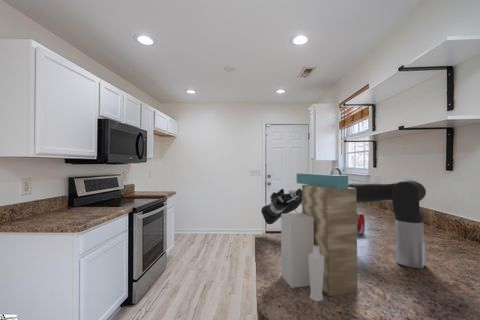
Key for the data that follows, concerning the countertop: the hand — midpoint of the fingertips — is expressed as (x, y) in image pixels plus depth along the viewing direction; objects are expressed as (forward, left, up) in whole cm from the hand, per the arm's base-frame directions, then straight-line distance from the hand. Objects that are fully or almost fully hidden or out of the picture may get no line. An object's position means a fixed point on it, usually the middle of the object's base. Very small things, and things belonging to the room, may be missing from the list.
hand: (291, 190), depth 105 cm
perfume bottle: (-25, +25, -28) cm, 45 cm away
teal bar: (-18, +11, +4) cm, 22 cm away
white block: (-15, +20, -28) cm, 38 cm away
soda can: (-9, -55, -28) cm, 62 cm away
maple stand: (-23, +13, -28) cm, 38 cm away
